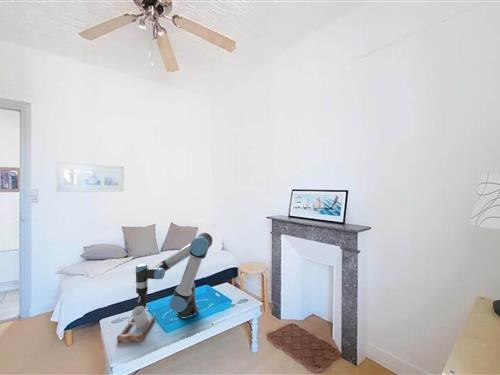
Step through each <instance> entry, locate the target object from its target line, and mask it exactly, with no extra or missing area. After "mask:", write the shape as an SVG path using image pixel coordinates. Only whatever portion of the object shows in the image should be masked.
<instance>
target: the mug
mask: <svg viewBox="0 0 500 375" xmlns="http://www.w3.org/2000/svg"><path fill="white" fill-rule="evenodd" d="M145 308H146V307H145ZM145 308H144V307H143V306H138V305H137V306H136V307H135V308H134V309H133V310H132V311H131V314H132V315H131V316H129V318H128V320H127V321H128V322H127V323H129V324H133V325H135V327H136V328H137V329H143V328H144V329H145V328H146V326H147V324H148V323H149V321H150V318H149V317H148V314H147V311H146V309H145ZM132 318H134V320H135V322H134V323H130V321H131V319H132Z"/></svg>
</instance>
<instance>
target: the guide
mask: <svg viewBox="0 0 500 375" xmlns="http://www.w3.org/2000/svg"><path fill="white" fill-rule="evenodd" d="M155 320H156V316H151V318H150V319H149V323H148V324H147V326H146V327H144V329H143V331H142V332H141V333H128V332H129V331H130V330H131V328H132V327H133V325H134V324H129V322H130V323H134V322H135V320H134V318H133V317H131V318H130V320H129V322H127V323H128V324H127V325H126V326H125V327H124V329H123V330H122V331H121V333H119V334H117V336H116V338H117V340H116V342H117V344H120V343H121V344H122V343H124V344H126V343H143V341H144V339H145V338H146V336H147V334H148V333H149V330H150V329H151V328H152V326H153V324H154V323H155ZM127 333H128V334H127Z"/></svg>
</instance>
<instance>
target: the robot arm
mask: <svg viewBox="0 0 500 375" xmlns="http://www.w3.org/2000/svg"><path fill="white" fill-rule="evenodd" d="M212 245H213V237H212V236H211V234H209V233H207V232H202V233H200V234H198V235H197V236H196V237H194V238H193V239H192V241H191V242H190V243H189V244H187V245H185V246H184V247H183V248H181V249H179V250H178V251H176V252H174V253H173V254H171V255H170V256H168V257H167V258H165V259H164V260H162V261H161V262H159V263H158V264H157V265H155V266H154V267H148V265H147V264H146V263H140V264H137V265H136V266H135V287H136V288H135V289H136V290H135V292H136V294H138V296H137V298H138V299H137V300H136V303H137V307H138V306H143V307H144V308H145V310H147V299H148V291H149V288H148V287H149V286H148V285H149V282H148V280H163V279H164V278H165V275H166V272H167V271H169V270H170V269H171V268H173V267H174V266H176V265H177V264H179V263H181V262H183V261H184V260H185V259H188V261H187V264H186V265H185V268H184V271H183V275H182V277H181V280H180V282H179V284H178V285H177V286H176V287H175V289H174V293H173V295H172V296H171V297H170V300H169V307H170V309H171V310H172V311H173V312H175V313H176V316H177V317H178V316H179V317H188V316H191V315H194V314H195V313H197V312H199V310H198V306H197V302H196V284H195V280H196V277H197V275H198V272H199V269H200V266H201V264H202V261H203V260H204V259H205V258H206V257H207V254H208V251H209V248H210V247H211V246H212ZM188 257H189V258H188ZM197 314H198V313H197ZM179 317H178V318H179Z"/></svg>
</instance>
